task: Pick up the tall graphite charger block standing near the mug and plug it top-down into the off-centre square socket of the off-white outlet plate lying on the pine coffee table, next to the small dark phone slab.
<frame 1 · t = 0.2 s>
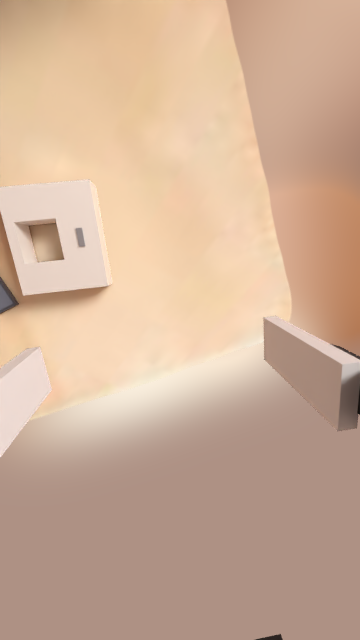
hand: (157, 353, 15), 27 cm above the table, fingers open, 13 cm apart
outlet plate: (64, 241, 38), on the table
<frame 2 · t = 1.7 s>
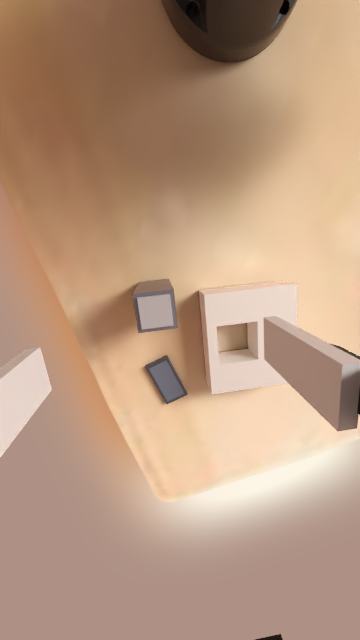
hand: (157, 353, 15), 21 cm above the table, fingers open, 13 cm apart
phone: (166, 378, 39), on the table
outlet plate: (242, 332, 37), on the table
charger: (155, 295, 35), on the table
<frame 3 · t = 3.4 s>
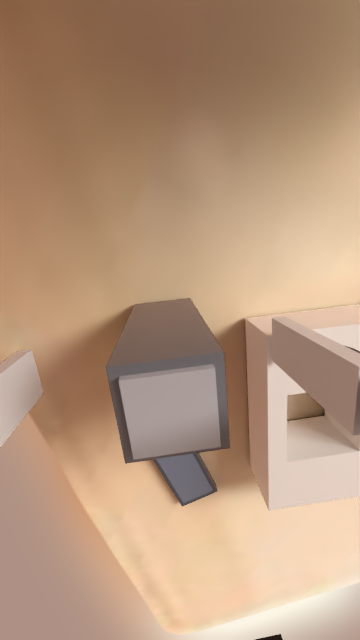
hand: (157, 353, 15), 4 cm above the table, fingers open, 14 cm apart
phone: (182, 462, 23), on the table
outlet plate: (318, 389, 21), on the table
charger: (165, 327, 19), on the table
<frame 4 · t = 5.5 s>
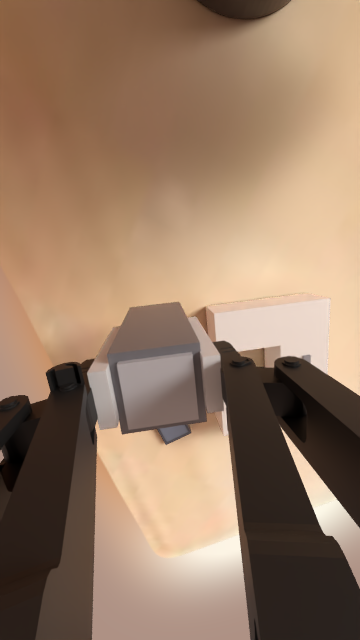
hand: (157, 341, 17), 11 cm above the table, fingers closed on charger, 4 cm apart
phone: (166, 412, 32), on the table
outlet plate: (258, 356, 30), on the table
charger: (157, 328, 21), point 7 cm above the table, touching gripper
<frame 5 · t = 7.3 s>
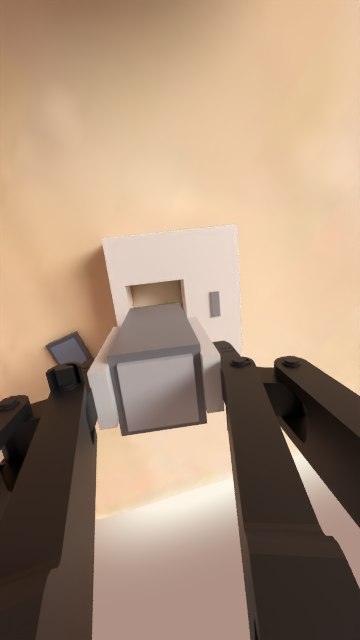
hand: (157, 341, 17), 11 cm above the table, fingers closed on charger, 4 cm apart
phone: (79, 362, 29), on the table
outlet plate: (175, 300, 28), on the table
charger: (157, 328, 21), point 7 cm above the table, touching gripper
when the fingers open (5 cm above the table, at t = 9.0 s): charger drops 1 cm, resting in outlet plate.
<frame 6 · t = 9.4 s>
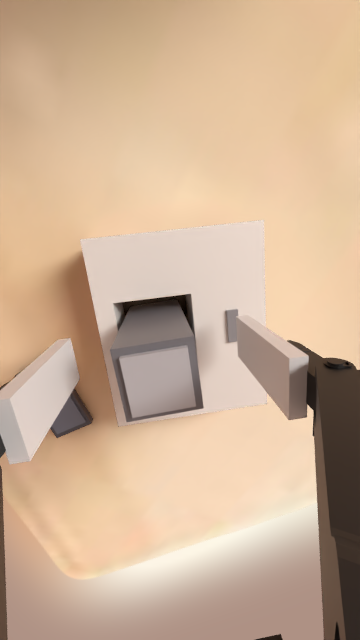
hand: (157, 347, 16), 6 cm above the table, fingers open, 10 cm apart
phone: (58, 394, 23), on the table
outlet plate: (179, 317, 22), on the table
charger: (157, 324, 22), resting in outlet plate
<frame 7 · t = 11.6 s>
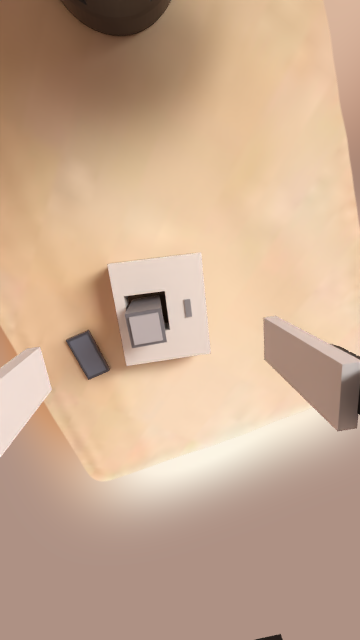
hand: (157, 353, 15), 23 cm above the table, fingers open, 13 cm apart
phone: (89, 353, 39), on the table
outlet plate: (161, 305, 38), on the table
charger: (148, 310, 38), resting in outlet plate
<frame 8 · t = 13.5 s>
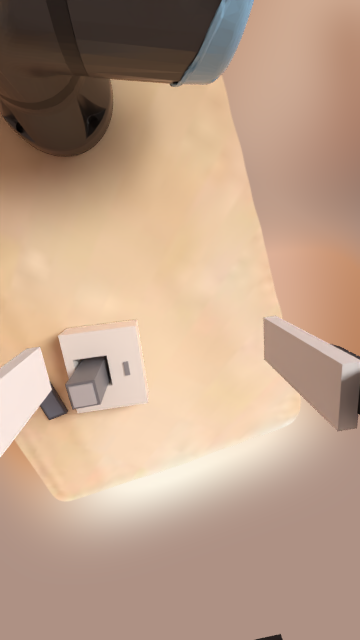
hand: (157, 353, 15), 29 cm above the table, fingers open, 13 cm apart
phone: (50, 398, 46), on the table
outlet plate: (109, 361, 45), on the table
charger: (98, 364, 45), resting in outlet plate
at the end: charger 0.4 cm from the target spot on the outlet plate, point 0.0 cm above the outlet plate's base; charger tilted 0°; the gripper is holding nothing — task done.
